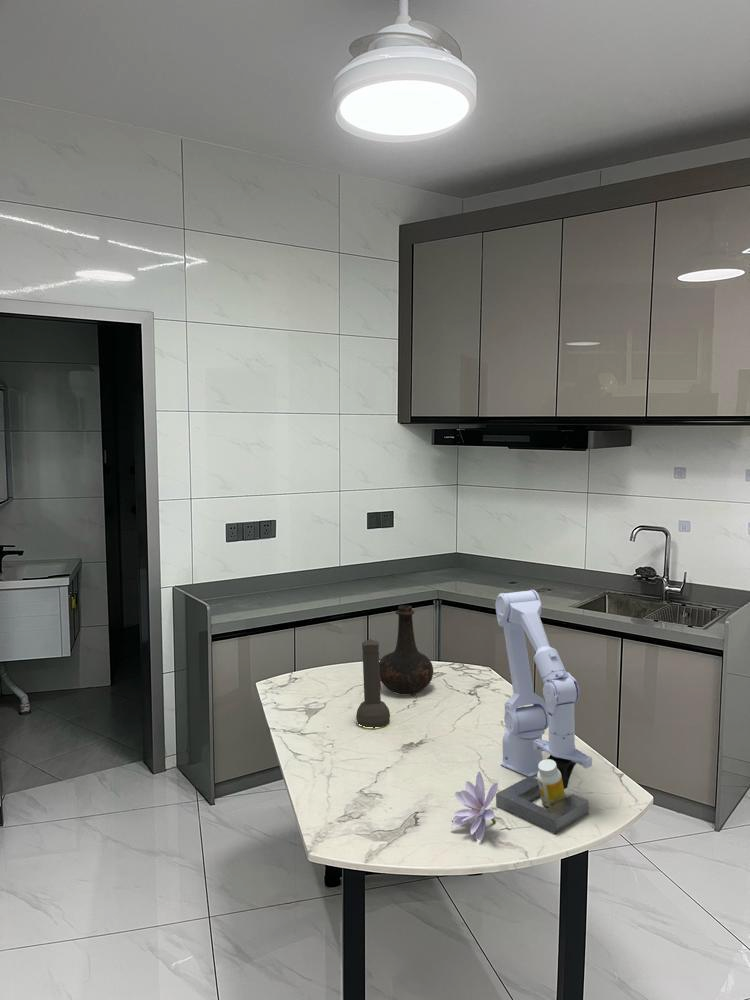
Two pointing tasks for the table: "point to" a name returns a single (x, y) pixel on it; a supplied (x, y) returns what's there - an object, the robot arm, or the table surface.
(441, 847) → the table surface
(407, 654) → the glass bottle
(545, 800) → the supplement bottle
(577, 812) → the grey u-shaped block
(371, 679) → the flashlight
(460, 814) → the water lily
